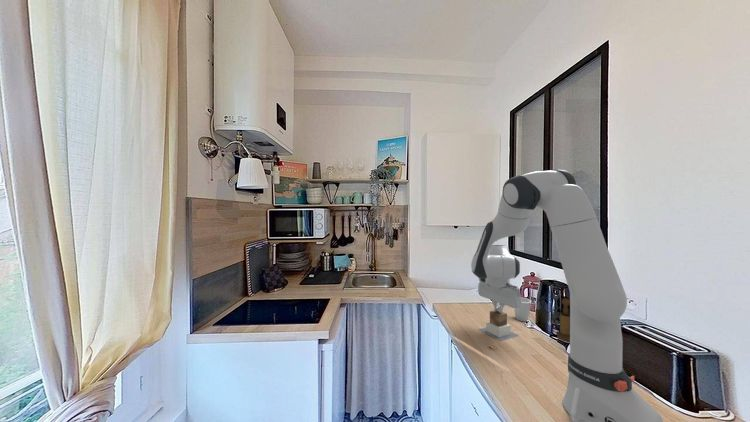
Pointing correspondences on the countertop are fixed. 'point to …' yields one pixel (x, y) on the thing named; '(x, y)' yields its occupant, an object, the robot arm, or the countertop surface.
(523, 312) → the dixie cup
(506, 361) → the countertop surface
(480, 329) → the build plate
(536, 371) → the countertop surface
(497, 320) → the walnut brick
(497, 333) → the base brick
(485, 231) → the robot arm
